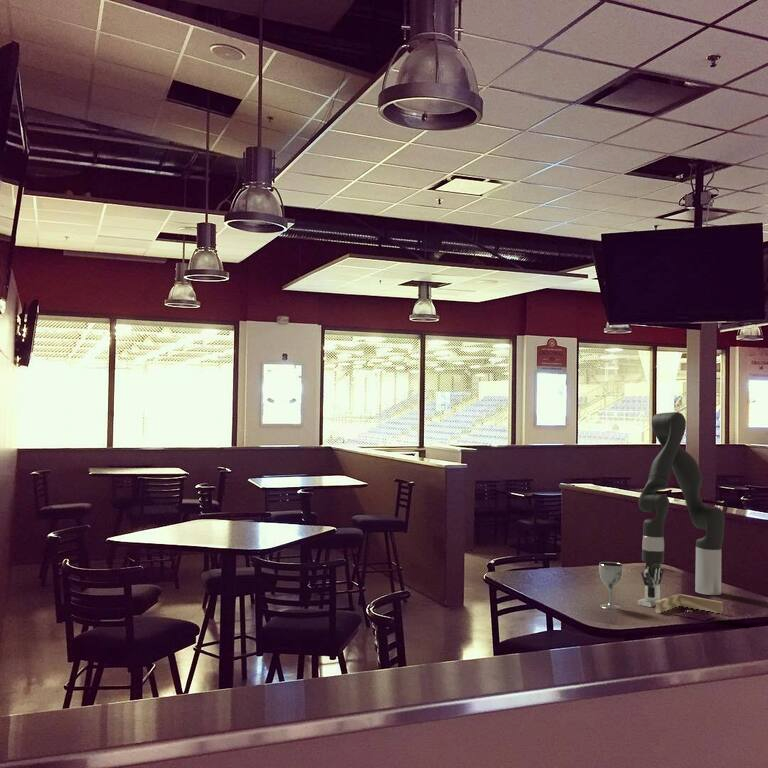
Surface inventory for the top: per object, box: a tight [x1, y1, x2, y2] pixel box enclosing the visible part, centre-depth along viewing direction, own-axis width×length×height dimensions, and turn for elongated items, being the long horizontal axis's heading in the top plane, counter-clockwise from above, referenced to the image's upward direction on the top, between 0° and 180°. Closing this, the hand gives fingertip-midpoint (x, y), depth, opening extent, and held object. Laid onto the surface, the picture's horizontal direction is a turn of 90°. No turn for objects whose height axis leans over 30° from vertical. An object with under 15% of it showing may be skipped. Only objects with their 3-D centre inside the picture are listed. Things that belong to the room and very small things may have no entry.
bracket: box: [637, 584, 661, 608], centre depth 280 cm, size 7×5×7 cm
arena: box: [654, 593, 724, 615], centre depth 268 cm, size 18×16×4 cm
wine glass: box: [598, 561, 624, 610], centre depth 274 cm, size 8×8×15 cm
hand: (652, 596), depth 282 cm, fingers closed on bracket, 1 cm apart
